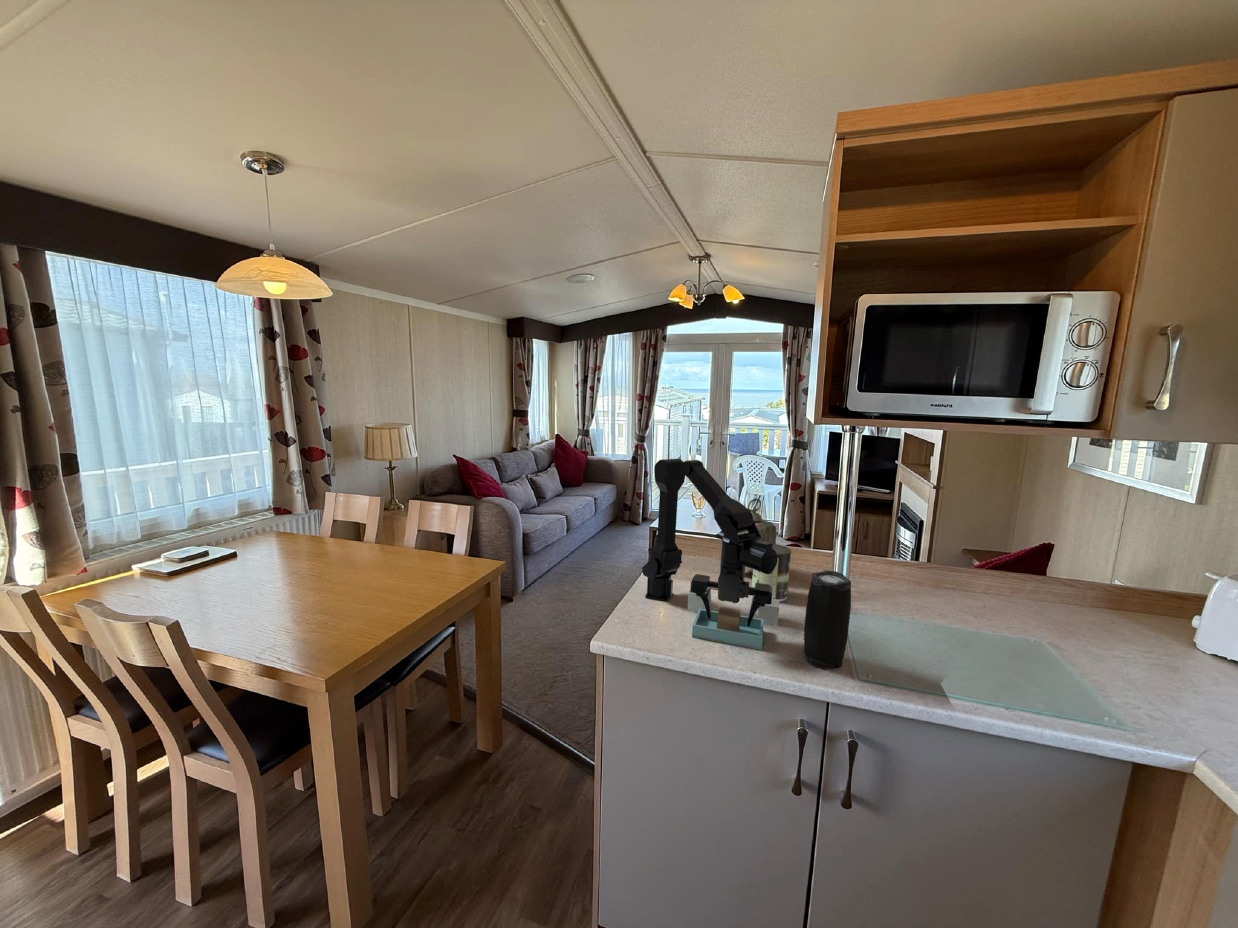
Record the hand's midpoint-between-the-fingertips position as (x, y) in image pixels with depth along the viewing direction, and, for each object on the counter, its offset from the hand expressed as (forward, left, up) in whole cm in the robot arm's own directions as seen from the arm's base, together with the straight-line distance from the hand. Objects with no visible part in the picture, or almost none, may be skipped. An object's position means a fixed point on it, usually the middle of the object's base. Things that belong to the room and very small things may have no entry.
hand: (728, 622), depth 117 cm
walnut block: (0, 0, -2) cm, 2 cm away
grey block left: (-9, +11, -3) cm, 15 cm away
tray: (0, 0, -3) cm, 3 cm away
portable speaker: (+21, -5, -3) cm, 22 cm away
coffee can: (+9, +28, -3) cm, 30 cm away
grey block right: (+9, +11, -3) cm, 15 cm away
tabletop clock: (+3, +43, -3) cm, 44 cm away
